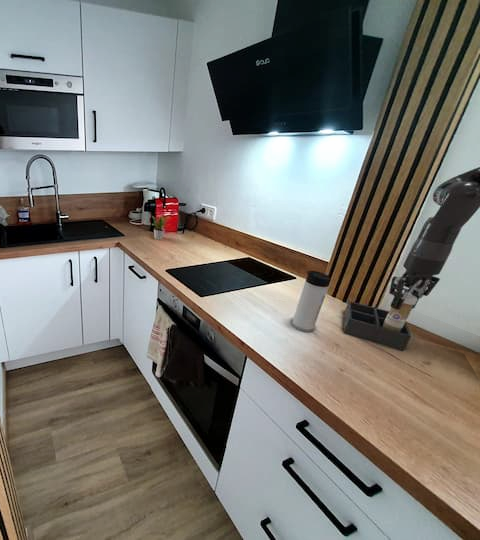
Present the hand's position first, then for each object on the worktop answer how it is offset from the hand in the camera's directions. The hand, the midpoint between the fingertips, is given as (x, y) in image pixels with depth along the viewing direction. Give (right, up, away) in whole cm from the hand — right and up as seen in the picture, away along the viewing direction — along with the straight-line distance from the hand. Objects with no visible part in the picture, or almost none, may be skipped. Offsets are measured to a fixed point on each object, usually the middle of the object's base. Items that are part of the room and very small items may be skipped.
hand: (401, 307), depth 86 cm
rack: (-1, -9, +10) cm, 13 cm away
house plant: (-59, +31, +98) cm, 118 cm away
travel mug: (-24, -8, +11) cm, 27 cm away
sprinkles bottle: (0, -9, +4) cm, 10 cm away
